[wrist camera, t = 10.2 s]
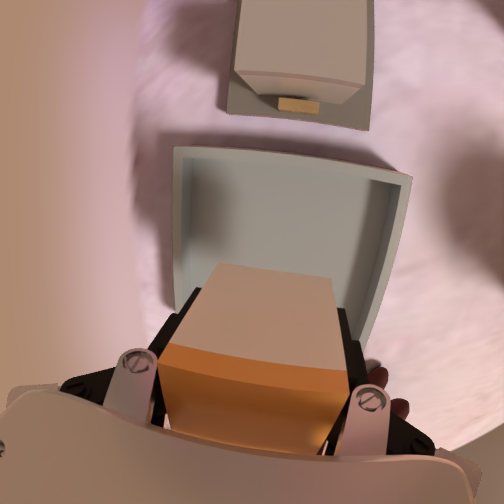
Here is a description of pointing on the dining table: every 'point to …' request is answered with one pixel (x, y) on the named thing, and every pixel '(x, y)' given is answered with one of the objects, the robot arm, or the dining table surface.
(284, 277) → the block
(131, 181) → the dining table surface
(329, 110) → the fuse panel
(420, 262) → the dining table surface
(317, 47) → the block
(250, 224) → the tray
